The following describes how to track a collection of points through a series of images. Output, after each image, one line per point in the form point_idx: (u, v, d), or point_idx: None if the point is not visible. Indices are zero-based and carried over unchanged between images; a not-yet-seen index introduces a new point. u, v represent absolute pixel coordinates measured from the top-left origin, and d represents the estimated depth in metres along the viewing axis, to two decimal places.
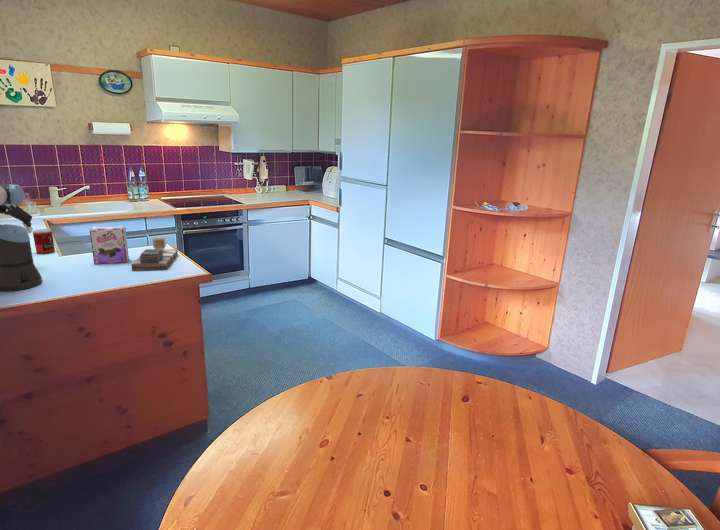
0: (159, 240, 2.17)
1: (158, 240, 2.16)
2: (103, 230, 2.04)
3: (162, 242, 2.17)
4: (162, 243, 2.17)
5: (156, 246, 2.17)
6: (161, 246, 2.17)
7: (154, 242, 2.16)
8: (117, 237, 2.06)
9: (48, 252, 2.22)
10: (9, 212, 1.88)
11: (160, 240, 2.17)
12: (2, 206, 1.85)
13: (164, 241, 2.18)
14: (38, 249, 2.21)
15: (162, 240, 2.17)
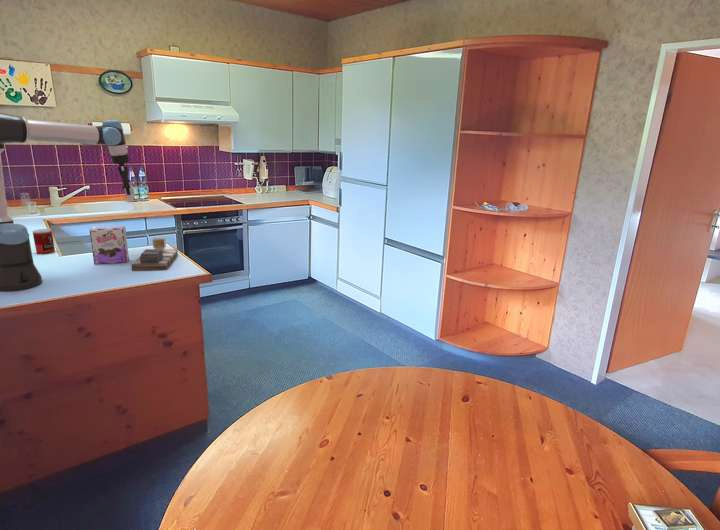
0: (159, 240, 2.17)
1: (158, 240, 2.16)
2: (103, 230, 2.04)
3: (162, 242, 2.17)
4: (162, 243, 2.17)
5: (156, 246, 2.17)
6: (161, 246, 2.17)
7: (154, 242, 2.16)
8: (117, 237, 2.06)
9: (48, 252, 2.22)
10: None
11: (160, 240, 2.17)
12: None
13: (164, 241, 2.18)
14: (38, 249, 2.21)
15: (162, 240, 2.17)
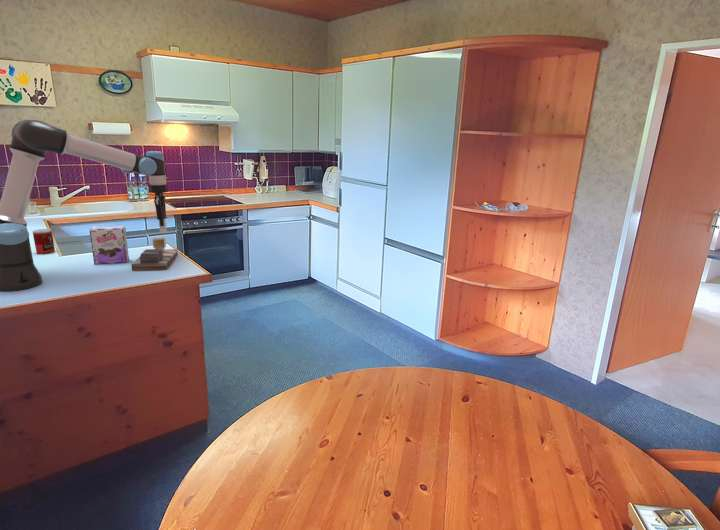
0: (159, 240, 2.17)
1: (158, 240, 2.16)
2: (103, 230, 2.04)
3: (162, 242, 2.17)
4: (162, 243, 2.17)
5: (156, 246, 2.17)
6: (161, 246, 2.17)
7: (154, 242, 2.16)
8: (117, 236, 2.06)
9: (48, 252, 2.22)
10: None
11: (160, 240, 2.17)
12: (155, 196, 2.17)
13: (164, 241, 2.18)
14: (38, 249, 2.21)
15: (162, 240, 2.17)
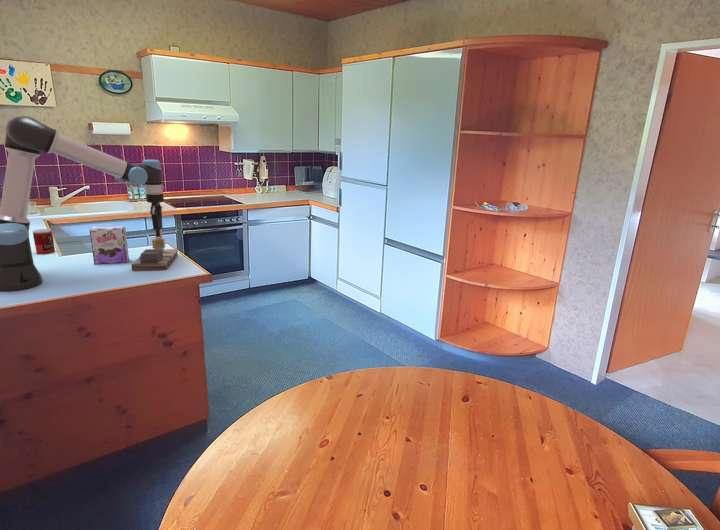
0: (158, 241, 2.15)
1: (157, 241, 2.15)
2: (103, 230, 2.04)
3: (161, 243, 2.16)
4: (161, 244, 2.16)
5: (155, 247, 2.16)
6: (160, 247, 2.16)
7: (153, 243, 2.15)
8: (117, 237, 2.06)
9: (48, 252, 2.22)
10: None
11: (160, 240, 2.15)
12: (151, 205, 2.11)
13: (163, 242, 2.17)
14: (38, 249, 2.21)
15: (161, 241, 2.16)
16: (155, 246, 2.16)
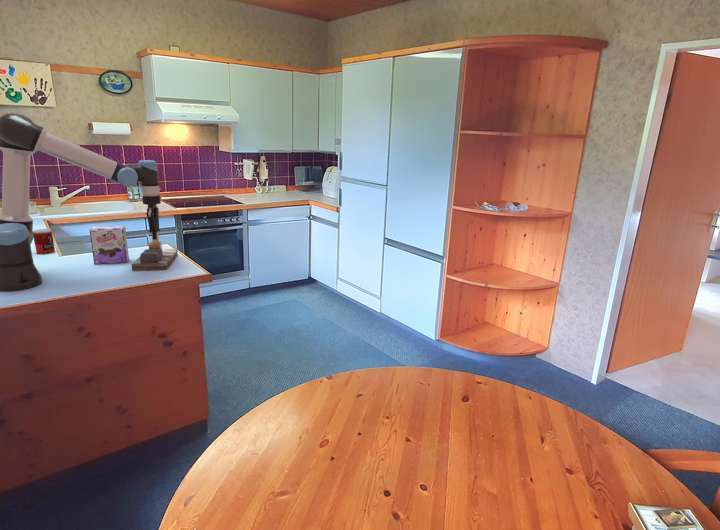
0: (155, 244, 2.09)
1: (154, 244, 2.09)
2: (103, 230, 2.04)
3: (158, 246, 2.09)
4: (158, 247, 2.10)
5: None
6: None
7: (150, 246, 2.09)
8: (117, 236, 2.06)
9: (48, 252, 2.22)
10: None
11: (156, 244, 2.09)
12: None
13: (160, 245, 2.10)
14: (38, 249, 2.21)
15: (158, 244, 2.09)
16: None
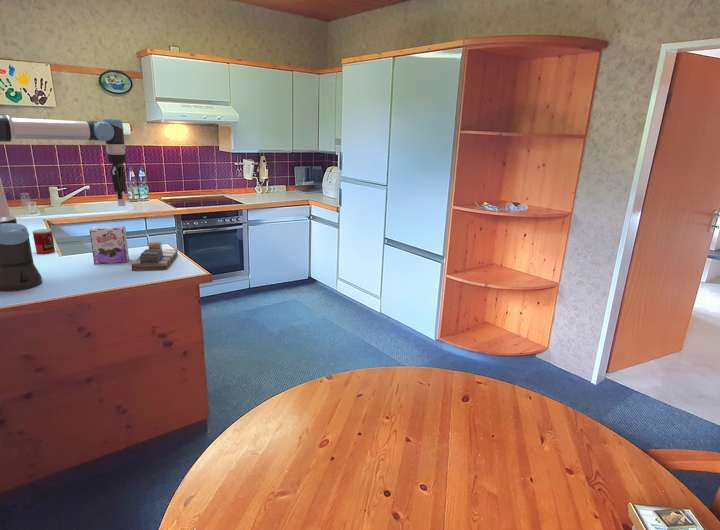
0: (155, 244, 2.09)
1: (154, 244, 2.09)
2: (103, 230, 2.04)
3: (158, 246, 2.09)
4: (158, 247, 2.09)
5: None
6: None
7: (150, 246, 2.09)
8: (117, 237, 2.06)
9: (48, 252, 2.22)
10: None
11: (156, 244, 2.09)
12: None
13: (160, 245, 2.10)
14: (38, 249, 2.21)
15: (158, 244, 2.09)
16: None
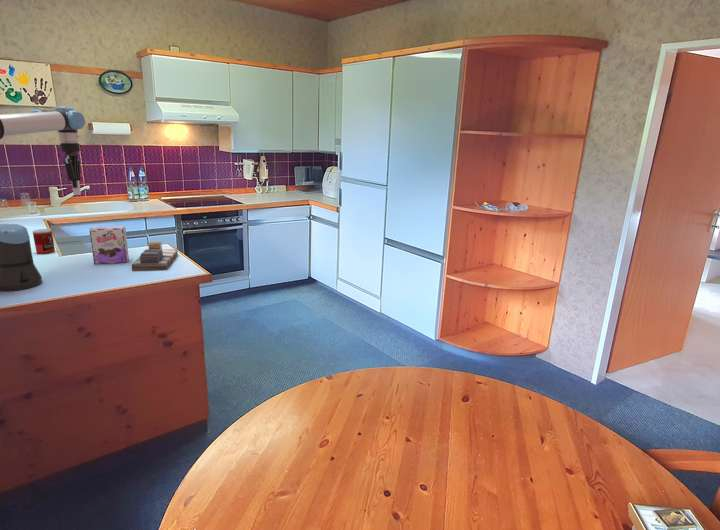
0: (155, 244, 2.09)
1: (154, 244, 2.09)
2: (103, 230, 2.04)
3: (158, 246, 2.09)
4: (158, 247, 2.09)
5: None
6: None
7: (150, 246, 2.09)
8: (117, 237, 2.06)
9: (48, 252, 2.22)
10: None
11: (156, 244, 2.09)
12: None
13: (160, 245, 2.10)
14: (38, 249, 2.21)
15: (158, 244, 2.09)
16: None
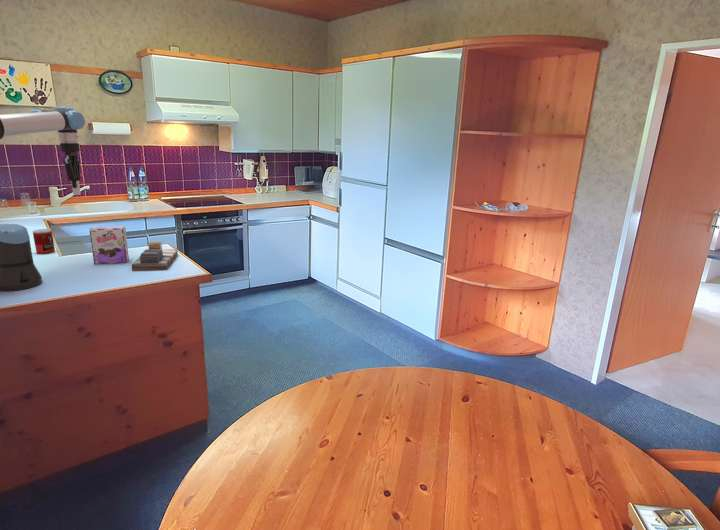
0: (155, 244, 2.09)
1: (154, 244, 2.09)
2: (103, 230, 2.04)
3: (158, 246, 2.09)
4: (158, 247, 2.09)
5: None
6: None
7: (150, 246, 2.09)
8: (117, 237, 2.06)
9: (48, 252, 2.22)
10: None
11: (156, 244, 2.09)
12: None
13: (160, 245, 2.10)
14: (38, 249, 2.21)
15: (158, 244, 2.09)
16: None
